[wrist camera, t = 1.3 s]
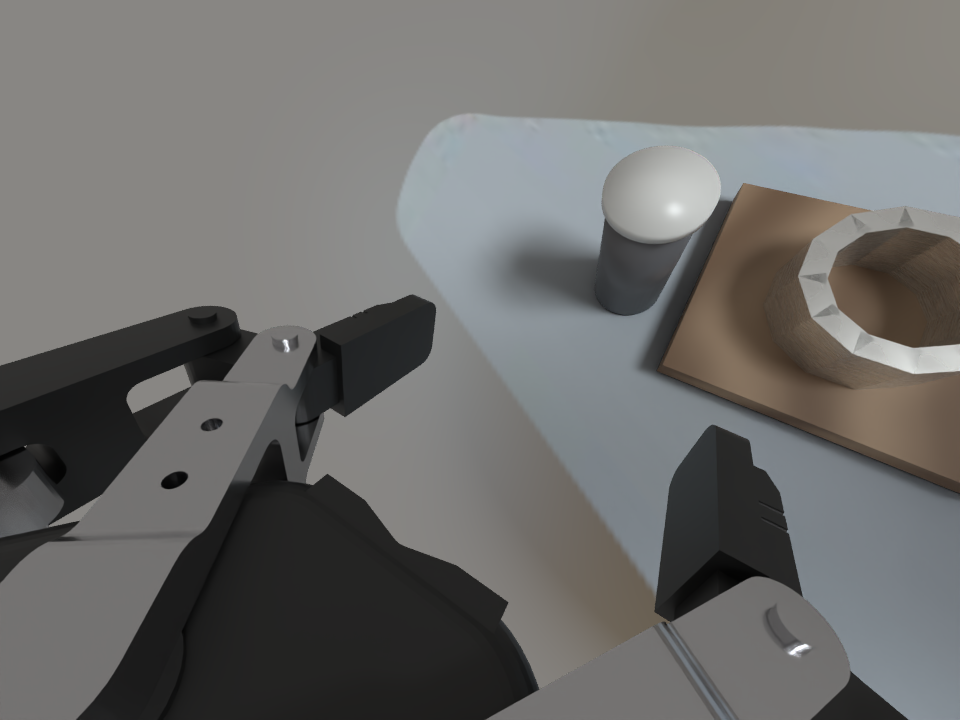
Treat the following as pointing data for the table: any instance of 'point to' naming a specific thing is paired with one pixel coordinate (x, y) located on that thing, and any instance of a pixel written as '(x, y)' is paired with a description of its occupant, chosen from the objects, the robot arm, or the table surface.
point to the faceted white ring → (841, 342)
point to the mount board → (779, 379)
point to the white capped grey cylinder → (650, 222)
